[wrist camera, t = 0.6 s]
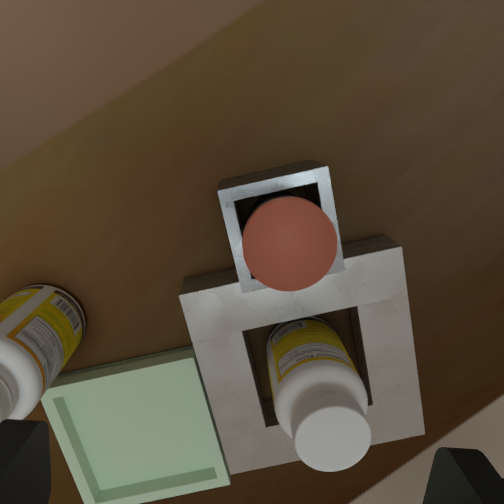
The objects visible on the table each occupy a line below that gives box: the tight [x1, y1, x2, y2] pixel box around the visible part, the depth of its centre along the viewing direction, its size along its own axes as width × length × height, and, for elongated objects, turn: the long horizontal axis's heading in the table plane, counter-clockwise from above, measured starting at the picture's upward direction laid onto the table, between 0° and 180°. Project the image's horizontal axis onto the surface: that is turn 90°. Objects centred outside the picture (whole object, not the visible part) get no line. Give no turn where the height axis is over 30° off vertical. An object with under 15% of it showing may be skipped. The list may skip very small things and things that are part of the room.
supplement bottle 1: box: [0, 285, 85, 422], centre depth 25 cm, size 6×6×10 cm
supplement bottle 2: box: [266, 316, 371, 472], centre depth 26 cm, size 5×5×10 cm
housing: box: [179, 160, 425, 474], centre depth 28 cm, size 14×20×5 cm
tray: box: [40, 345, 230, 504], centre depth 31 cm, size 11×11×2 cm
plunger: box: [242, 191, 338, 291], centre depth 23 cm, size 5×5×6 cm
